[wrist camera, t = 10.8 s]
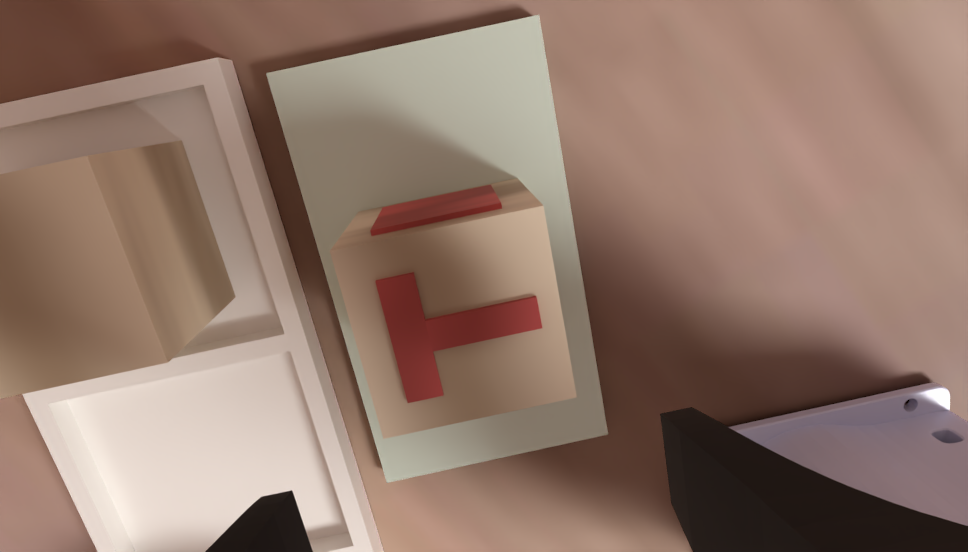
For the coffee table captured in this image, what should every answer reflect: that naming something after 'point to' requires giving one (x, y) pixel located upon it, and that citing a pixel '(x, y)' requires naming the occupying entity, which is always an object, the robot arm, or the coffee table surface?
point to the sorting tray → (198, 343)
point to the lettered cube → (455, 307)
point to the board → (437, 170)
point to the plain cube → (103, 266)
